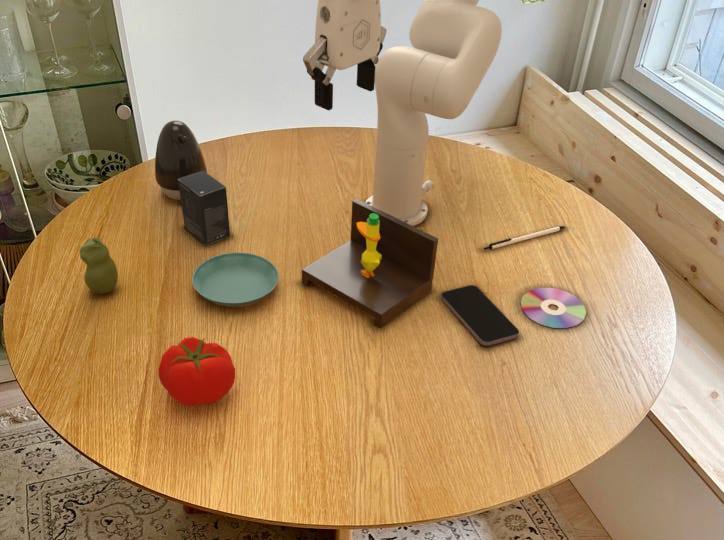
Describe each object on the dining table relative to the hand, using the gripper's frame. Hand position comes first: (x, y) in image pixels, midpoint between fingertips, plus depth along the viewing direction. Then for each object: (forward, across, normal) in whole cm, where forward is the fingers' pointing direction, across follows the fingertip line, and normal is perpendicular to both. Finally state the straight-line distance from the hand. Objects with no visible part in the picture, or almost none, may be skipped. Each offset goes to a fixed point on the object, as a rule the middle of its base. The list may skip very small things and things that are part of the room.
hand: (344, 97), depth 116 cm
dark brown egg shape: (+31, -5, +38) cm, 49 cm away
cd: (+30, +15, -36) cm, 49 cm away
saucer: (+31, -19, +7) cm, 37 cm away
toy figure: (+28, -3, -9) cm, 29 cm away
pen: (+31, +30, -21) cm, 48 cm away
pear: (+31, -35, +23) cm, 52 cm away
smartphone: (+31, +4, -28) cm, 42 cm away
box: (+31, -11, +24) cm, 40 cm away
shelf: (+30, -3, -9) cm, 32 cm away
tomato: (+31, -40, -8) cm, 51 cm away
